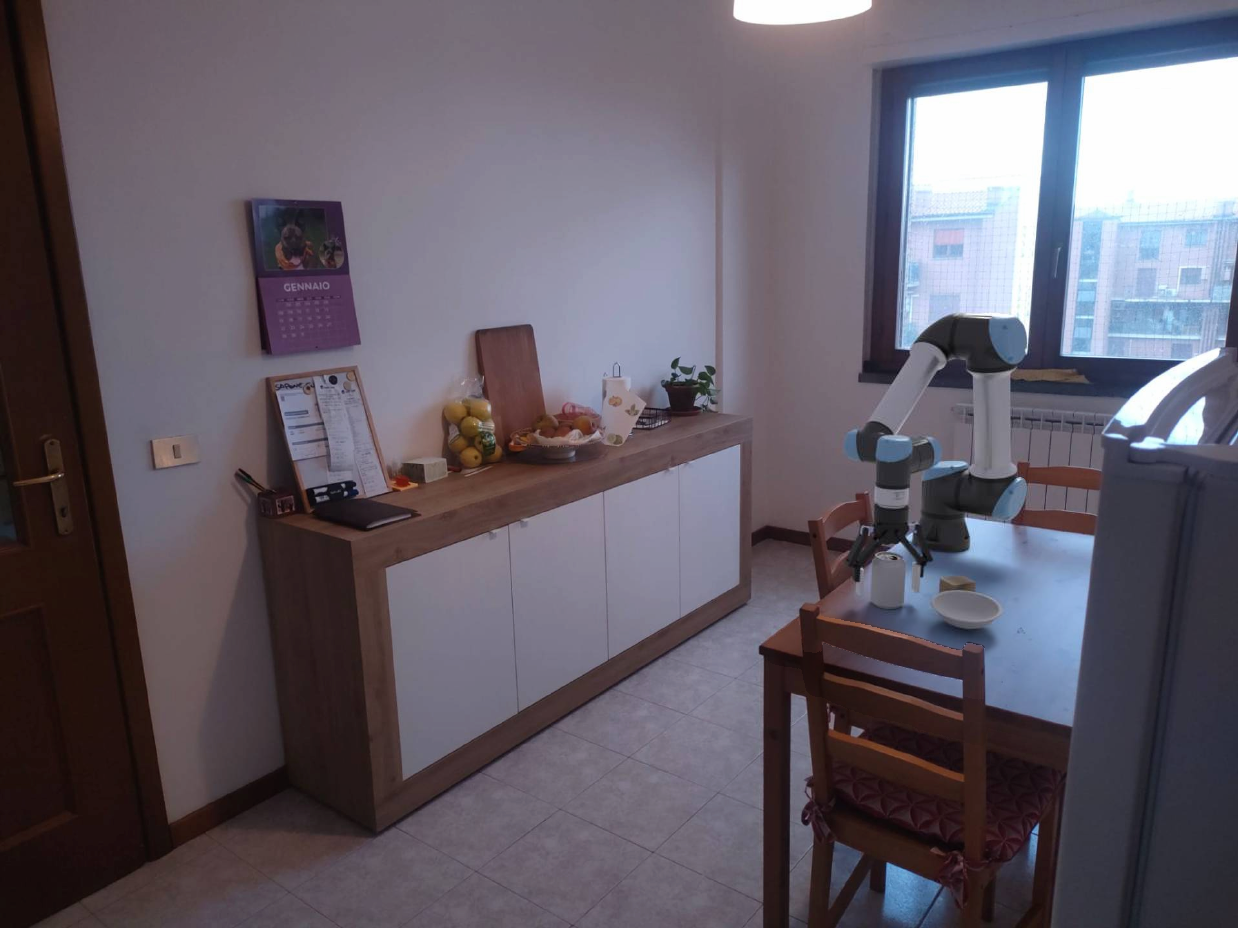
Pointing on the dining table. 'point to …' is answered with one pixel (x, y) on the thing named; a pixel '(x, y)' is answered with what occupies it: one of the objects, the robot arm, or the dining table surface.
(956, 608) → the dish
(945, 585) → the walnut block
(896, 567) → the can
